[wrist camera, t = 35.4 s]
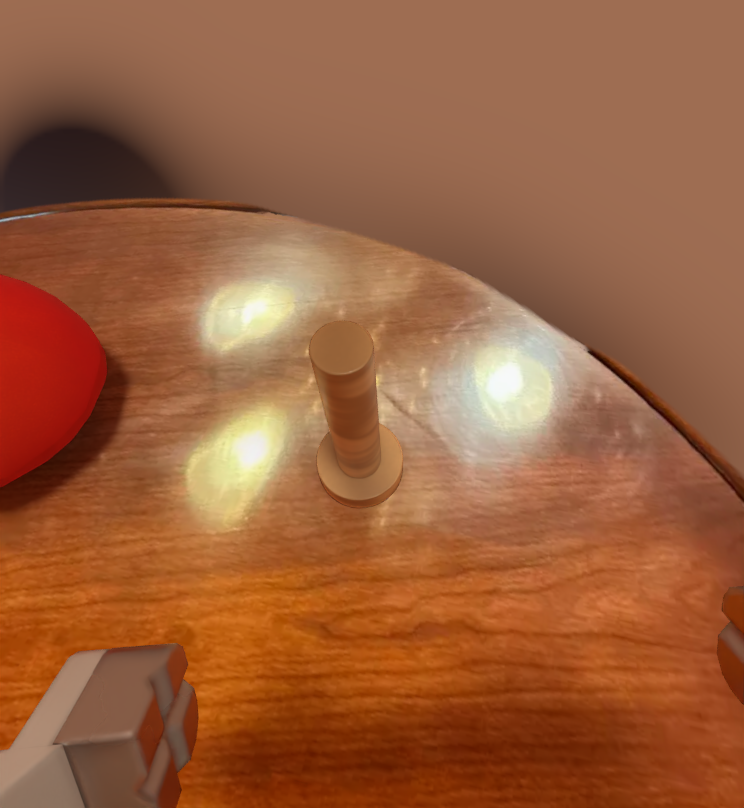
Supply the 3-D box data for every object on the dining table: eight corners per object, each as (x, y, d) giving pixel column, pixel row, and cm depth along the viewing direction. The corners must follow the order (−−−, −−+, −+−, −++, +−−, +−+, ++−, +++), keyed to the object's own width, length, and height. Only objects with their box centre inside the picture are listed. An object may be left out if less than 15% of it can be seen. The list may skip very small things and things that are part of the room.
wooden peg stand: (374, 415, 36) (362, 275, 24) (419, 479, 34) (431, 362, 22) (304, 455, 35) (253, 330, 23) (346, 524, 33) (316, 429, 21)
